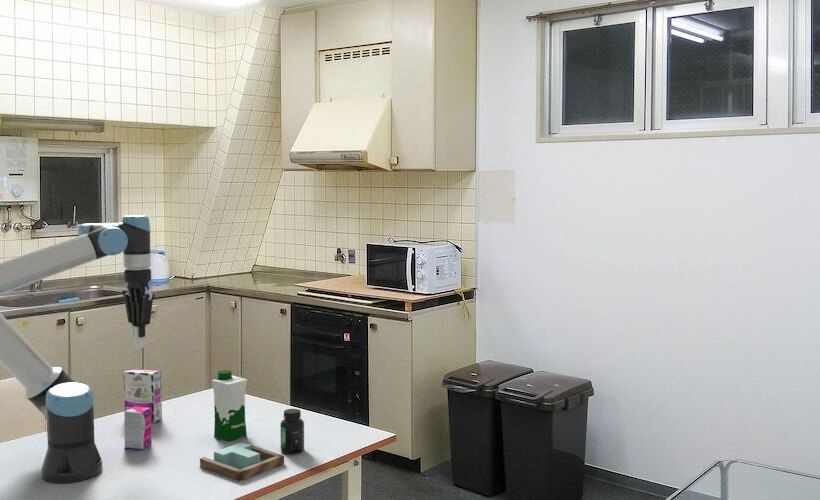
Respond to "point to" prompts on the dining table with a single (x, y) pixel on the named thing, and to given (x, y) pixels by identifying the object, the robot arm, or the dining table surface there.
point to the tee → (237, 455)
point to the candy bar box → (143, 391)
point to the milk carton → (229, 406)
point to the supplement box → (137, 428)
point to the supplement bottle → (292, 432)
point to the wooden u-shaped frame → (231, 472)
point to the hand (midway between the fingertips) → (139, 347)
